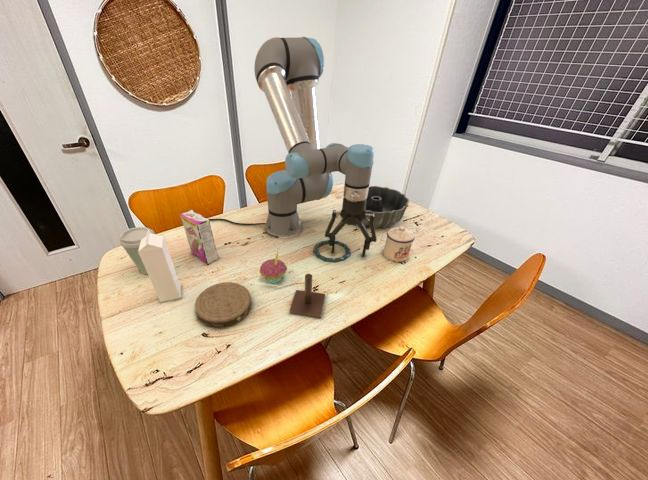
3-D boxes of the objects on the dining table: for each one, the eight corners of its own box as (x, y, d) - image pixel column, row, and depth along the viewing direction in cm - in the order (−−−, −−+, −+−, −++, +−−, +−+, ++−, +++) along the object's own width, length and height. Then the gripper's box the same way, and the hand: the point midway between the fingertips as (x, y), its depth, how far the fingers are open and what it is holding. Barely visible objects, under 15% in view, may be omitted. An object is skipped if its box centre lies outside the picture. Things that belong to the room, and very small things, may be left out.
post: (289, 313, 80) (288, 284, 73) (296, 292, 87) (295, 264, 80) (320, 318, 78) (322, 289, 71) (324, 296, 85) (327, 267, 78)
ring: (310, 261, 99) (310, 257, 98) (316, 241, 110) (316, 237, 108) (349, 266, 97) (349, 262, 96) (351, 245, 107) (351, 241, 106)
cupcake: (291, 275, 93) (290, 245, 86) (279, 291, 87) (277, 260, 80) (268, 269, 96) (266, 240, 89) (256, 284, 90) (252, 254, 83)
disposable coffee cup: (159, 256, 103) (145, 220, 94) (172, 269, 97) (159, 232, 88) (129, 269, 97) (112, 232, 88) (141, 283, 91) (124, 245, 82)
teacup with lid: (394, 265, 96) (402, 237, 89) (377, 252, 103) (382, 224, 96) (419, 256, 101) (428, 228, 93) (401, 244, 107) (408, 216, 100)
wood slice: (186, 309, 82) (183, 302, 80) (229, 282, 91) (227, 275, 89) (218, 338, 73) (216, 331, 71) (262, 305, 82) (261, 298, 81)
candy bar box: (190, 253, 105) (178, 214, 95) (202, 247, 107) (191, 209, 97) (207, 265, 99) (196, 224, 88) (219, 259, 101) (210, 219, 91)
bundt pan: (373, 241, 109) (378, 218, 103) (330, 215, 126) (332, 194, 120) (416, 222, 120) (423, 200, 114) (372, 201, 138) (375, 181, 132)
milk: (160, 302, 84) (132, 241, 71) (161, 289, 89) (135, 230, 75) (181, 298, 85) (157, 237, 72) (181, 285, 90) (159, 226, 76)
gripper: (317, 200, 87) (315, 256, 101) (393, 205, 83) (380, 264, 97) (321, 190, 93) (318, 245, 107) (391, 195, 89) (379, 252, 103)
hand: (347, 254), depth 102 cm, fingers open, 10 cm apart
